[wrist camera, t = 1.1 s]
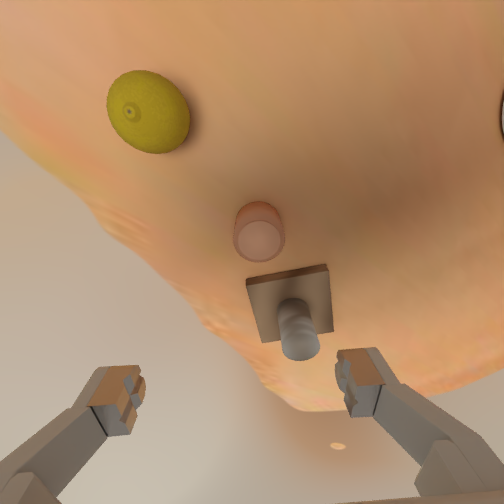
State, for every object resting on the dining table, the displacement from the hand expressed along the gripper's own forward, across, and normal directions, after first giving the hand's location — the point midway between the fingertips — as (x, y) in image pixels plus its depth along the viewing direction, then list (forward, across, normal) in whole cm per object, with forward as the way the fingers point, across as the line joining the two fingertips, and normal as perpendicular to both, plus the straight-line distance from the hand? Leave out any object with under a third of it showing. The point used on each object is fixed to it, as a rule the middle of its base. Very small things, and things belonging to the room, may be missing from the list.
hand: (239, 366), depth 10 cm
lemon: (+19, +6, -10) cm, 22 cm away
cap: (+19, -2, 0) cm, 19 cm away
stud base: (+19, -6, +12) cm, 23 cm away
